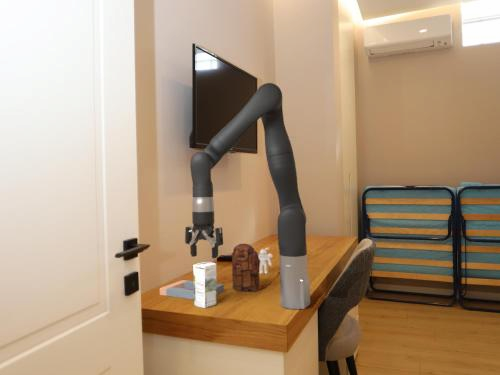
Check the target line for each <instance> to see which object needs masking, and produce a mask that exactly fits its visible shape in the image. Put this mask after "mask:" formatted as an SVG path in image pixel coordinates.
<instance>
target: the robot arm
mask: <svg viewBox="0 0 500 375" xmlns="http://www.w3.org/2000/svg"><path fill="white" fill-rule="evenodd" d="M283 112H284V111H283V92H282V90H281V88H280V87H279V86H278V85H277V84H276V83H273V82H267V83H263V84H261V85H260V86H259V87H258V88H257V89H256V91H255V92H254V94H253V95H252V97H251V98H250V99H249V100H248V102H247V103H246V104H245V105H244V107H242V109H241V110H240V111H239V112H238V113H237V114H236V115H235V116H234V117H233V118H232V119H231V120H230V121H229V122H228V123H227V124H226V125H225V126H224V127H223V128H221V129H220V131H219V132H217V134H216V135H214V136H213V137H212V139H211V140H210V141H209V144H208V145H207V146H206V147H205V148H204V149H203V150H202V151H197V152H195V153H193V154H192V156H191V157H190V161H189V165H190V174H191V176H190V177H191V183H192V202H191V210H192V211H191V212H192V219H191V220H192V225H193V226H192V225H189V226H186V227H185V234H184V235H185V237H184V238H185V239H184V243H185V244H186V245H189V247H190V256H191V257H194V258H195V257H197V255H198V249H197V248H198V247H197V243H198V241H200V240H203V241H207V242H208V243H209V244H210V245H211V259H217V258H218V256H219V246H223V245H224V238H223V237H224V234H223V227H221V226H220V227H215V201H214V184H213V182H212V173H211V172H212V169H213V168H214V167H216V165H217V164H218V163H219V162H220V161H221V160H222V159H223V157H224V156H225V155H226V154H228V152H230V151H231V150H232V149H233V148H235V146H236V145H237V144H238V143H239V142H240V141H241V140H242V139H243V138H244V136H245V135H246V133H248V132H249V130H250V129H251V127H252V126H253V125H254V124H255V123H257V121H258V120H259V119H261V122H262V126H263V131H264V147H265V157H266V161H267V162H266V163H267V166H268V167H267V168H268V172H269V174H270V177H271V179H272V180H271V181H272V183H273V185H274V188H275V190H276V193H277V197H278V205H279V214H278V217H277V244H278V250H279V252H278V254H279V281H280V283H279V285H280V289H279V290H280V307H281V308H285V309H289V310H299V309H301V310H305V309H306V308H307V307H308V306H310V305H311V288H310V287H311V286H310V285H311V283H310V281H311V280H310V276H309V275H308V252H307V251H308V249H307V233H306V232H307V231H306V230H307V229H306V228H307V227H306V224H307V215H306V213H305V210H304V206H303V204H302V200H301V197H300V192H299V187H298V184H299V183H298V175H297V173H298V172H297V167H296V160H295V155H294V151H293V147H292V143H291V140H290V136H289V135H288V132H287V129H286V125H285V121H284V120H285V119H284V113H283Z"/></svg>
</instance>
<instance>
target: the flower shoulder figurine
mask: <svg viewBox="0 0 500 375" xmlns="http://www.w3.org/2000/svg"><path fill="white" fill-rule="evenodd" d="M267 250H269V247H265V248H261V249H260V251H259V253H258V257H259V273H260V274H259V275H261V274H264V273H265V274H264V275H267V273H268V274H269V271H268V266H269V267H272V266H273V265H272V261H271V259H273V256H274V255H273V254H272V253H270V252H269V253H268V252H267Z"/></svg>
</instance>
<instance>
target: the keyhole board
mask: <svg viewBox="0 0 500 375" xmlns="http://www.w3.org/2000/svg"><path fill="white" fill-rule="evenodd" d="M216 285H217V295H218V294H221V293H222V292H224V284H222V283H216ZM159 295H160V296H168V297H173V298H180V299H187V300H194V280H188V279H187V280H186V279H181V280H178V281H176V282H173V283H170V284H167V285H165V286H162V287H160V288H159Z"/></svg>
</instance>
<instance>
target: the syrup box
mask: <svg viewBox="0 0 500 375" xmlns="http://www.w3.org/2000/svg"><path fill="white" fill-rule="evenodd" d="M192 267H193V270H192V272H193V273H192V274H193V281H194V299H193V306H195V307H197V308H202V309H208V308H211V307H213V306H216V305H217V304H218V301H217V299H218V296H217V295H218V294H217V285H216V284H217V264H216V263H214V262H211V261H203V262H198V263H195V264H193V265H192Z"/></svg>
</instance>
